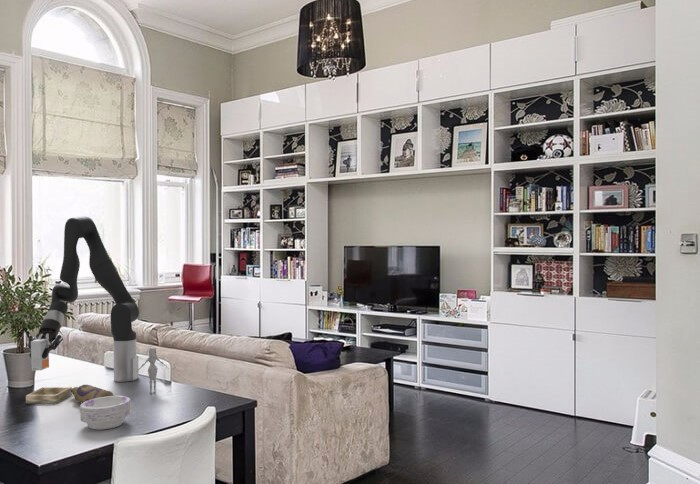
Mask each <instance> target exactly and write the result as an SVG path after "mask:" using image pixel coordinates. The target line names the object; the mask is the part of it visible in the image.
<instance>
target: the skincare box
mask: <svg viewBox="0 0 700 484" xmlns="http://www.w3.org/2000/svg"><path fill="white" fill-rule="evenodd" d="M46 342H47V339H36V340H34V341H31V350H30V352H31V358H30V359H31V365H30V366H31V371H32V372H33V371H35V372H36V371H37V372H38V371H44V370H45V369H48V368H50V353H49V354H48V356H47V357H46V359H43V358H42V354H43V351H44V349H45V348H46Z"/></svg>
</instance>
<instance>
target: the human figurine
mask: <svg viewBox="0 0 700 484" xmlns="http://www.w3.org/2000/svg"><path fill="white" fill-rule="evenodd" d="M157 361H158V362H159V363H160V364H161V365H163V366H164V367H166V368H167V369H169V367H168V366H167V365H166V364H165V363H164V362H163V361H161V359H159V357H158V356H157V348H156V347H149V350H148V357H147V359H146V360H145V361H144V362H143V363H142V364H141V365H140V366H139V367H138V368H139V369H138V371H140V369H142V368H143V367H144V366H145V365H146V364H147V363H148V362H149V365H148V368H147V374H148V378H149V382H148V383H149V394H150V395H152V394H154V395H155V394H156V393H157V390H156V389H157V380H156V379H157V374H158V367H157V365H156V364H155V363H156V362H157ZM138 371H137V372H138ZM152 389H153V390H154V391H152Z"/></svg>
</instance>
